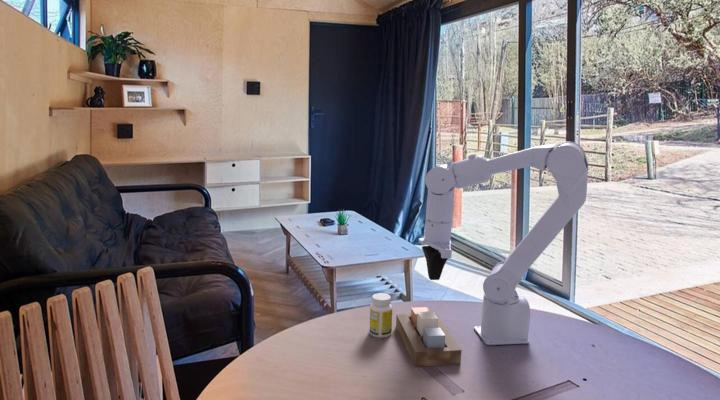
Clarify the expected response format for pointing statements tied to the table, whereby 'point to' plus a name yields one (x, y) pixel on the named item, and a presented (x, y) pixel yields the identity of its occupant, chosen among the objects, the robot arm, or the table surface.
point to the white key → (426, 321)
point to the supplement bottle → (381, 315)
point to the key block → (418, 350)
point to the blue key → (433, 338)
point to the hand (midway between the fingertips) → (434, 278)
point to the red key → (414, 313)
